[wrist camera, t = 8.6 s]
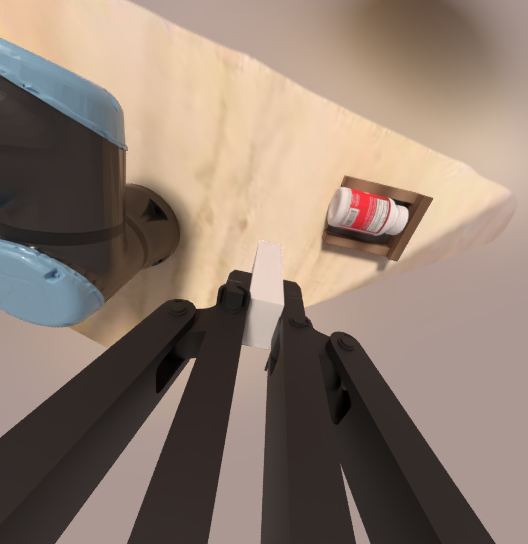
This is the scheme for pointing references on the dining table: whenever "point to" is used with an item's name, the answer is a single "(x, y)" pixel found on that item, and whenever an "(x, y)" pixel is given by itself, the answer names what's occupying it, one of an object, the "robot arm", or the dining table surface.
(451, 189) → the dining table surface
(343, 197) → the pill bottle
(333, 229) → the tray
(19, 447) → the robot arm
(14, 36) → the dining table surface
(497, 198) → the dining table surface
